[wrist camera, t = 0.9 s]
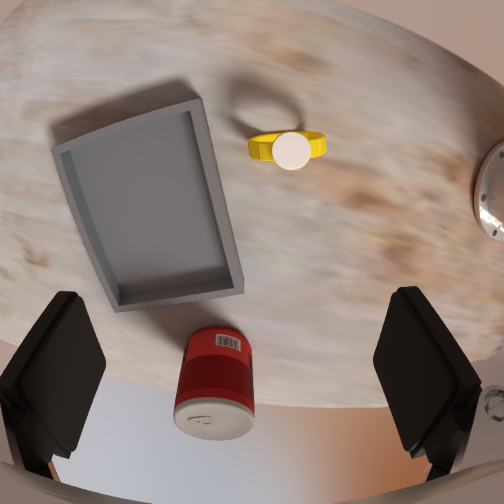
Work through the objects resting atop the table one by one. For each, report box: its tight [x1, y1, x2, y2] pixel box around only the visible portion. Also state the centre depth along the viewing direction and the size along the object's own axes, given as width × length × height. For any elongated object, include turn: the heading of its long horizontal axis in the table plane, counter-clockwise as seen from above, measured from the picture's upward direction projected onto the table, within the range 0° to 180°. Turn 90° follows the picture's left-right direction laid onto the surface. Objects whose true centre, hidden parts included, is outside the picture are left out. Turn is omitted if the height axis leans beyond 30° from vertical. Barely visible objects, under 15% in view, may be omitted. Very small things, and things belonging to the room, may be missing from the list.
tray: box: [51, 99, 244, 313], centre depth 28 cm, size 14×18×2 cm
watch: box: [248, 131, 326, 170], centre depth 24 cm, size 6×3×6 cm, turn 96°
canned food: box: [173, 326, 255, 441], centre depth 32 cm, size 8×8×11 cm
